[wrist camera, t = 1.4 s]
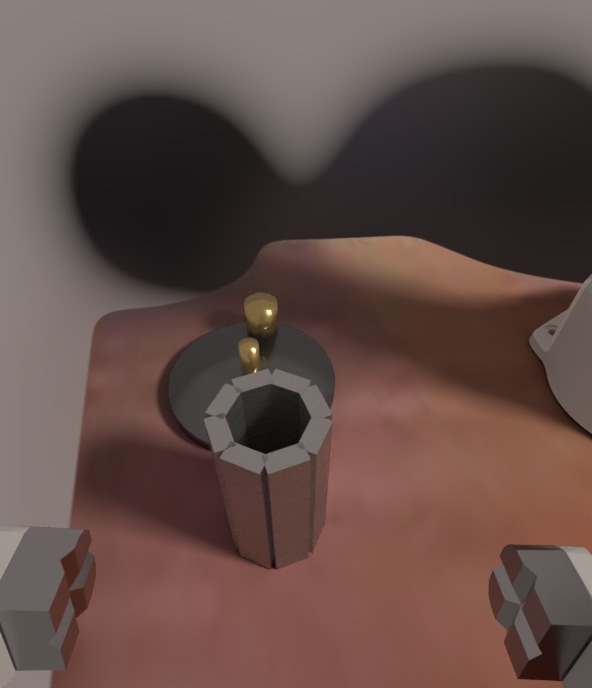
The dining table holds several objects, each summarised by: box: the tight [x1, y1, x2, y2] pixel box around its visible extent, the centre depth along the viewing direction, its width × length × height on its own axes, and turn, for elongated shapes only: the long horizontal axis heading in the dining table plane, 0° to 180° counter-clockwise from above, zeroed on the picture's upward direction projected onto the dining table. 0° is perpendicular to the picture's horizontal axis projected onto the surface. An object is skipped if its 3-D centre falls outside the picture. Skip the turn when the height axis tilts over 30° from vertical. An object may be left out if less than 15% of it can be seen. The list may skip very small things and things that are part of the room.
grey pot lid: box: [168, 292, 335, 450], centre depth 41 cm, size 14×14×5 cm
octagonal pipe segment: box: [204, 369, 333, 569], centre depth 31 cm, size 6×6×12 cm
